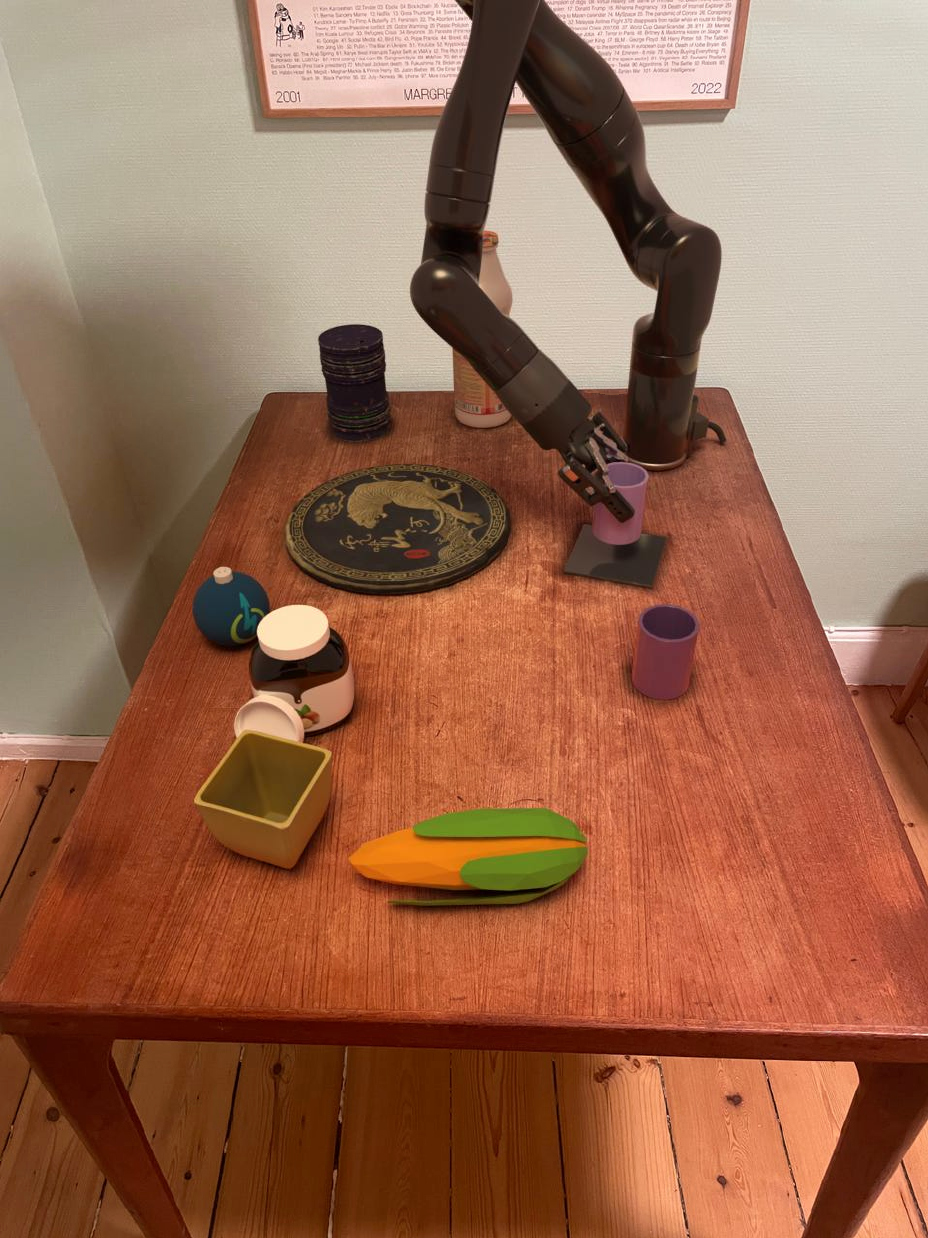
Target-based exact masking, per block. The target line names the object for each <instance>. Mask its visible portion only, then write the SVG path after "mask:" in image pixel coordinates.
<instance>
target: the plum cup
mask: <svg viewBox="0 0 928 1238" xmlns="http://www.w3.org/2000/svg"><path fill="white" fill-rule="evenodd" d="M699 630H700V622H699V619H698V617H697V616H696V615H695V614H694V613H693V612H691V610H689V609H688V608H684V607H682V606H680V605H676V604H670V603H662V604H661V603H660V604H654V605H650V606H648V607H646V608H645V609H643V611H642V612H640V613H639V615H638V619H637V627H636V636H635V644H634V651H633V659H632V666H631V667H632V668H631V682H632V685H633V686H634V688H635V689H636V690H637V691H638V692H639V693H640V694H642V695H644V696H646V697H648V698H651V699H655V700H659V701H660V700H661V701H667V700H668V701H669V700H674V699H677V698H679V697H681V696H682V695H684V694H685V693H686V692H687V691H688V689H689V686H690V681H691V676H692V670H693V664H694V659H695V653H696V647H697V641H698V637H699V632H700V631H699Z"/></svg>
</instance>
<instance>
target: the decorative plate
mask: <svg viewBox="0 0 928 1238" xmlns="http://www.w3.org/2000/svg"><path fill="white" fill-rule="evenodd" d="M289 513H290V514H289V515H288V517H287V521H286V525H285V527H284V540H285V548H286V550H287V552H288V554H289V556H290V558H291V560H292V561H293V562H294V563H295V564H296V565H297V566H298V567H299V568H300V569H301V570H302V571H303V572H305V573H306V574H308V575H309V576H311V577H313V578H314V579H316V580H317V581H320V582H322V583H324V584H327V585H328V586H329V585H330V586H332V587H335V588H339V589H341V590H347V591H350V592H354V593H363V594H372V595H405V594H412V593H419V592H425V591H426V592H427V591H431V590H435V589H439V588H442V587H445V586H449V585H450V586H451V584H455V583H457V582H459V581H461V580H464V579H466V578H468V577H471V576H473V575H474V574H475V573H477V572H480V571H481V570H482V569H484V568H485V567H487V566H488V565H489V564H490V563H491V562H492V561H493V560H495V558H497V557H498V556H499V555H500V553H501V552H502V551H503V549H504V547H505V545H506V544H507V543H508V540H509V536H510V533H511V517H510V510H509V509H508V506H507V504H506V502H505V500H504V498H503V497H502V496H500V493H498V492H497V491H496V490H495V488H493V487H491V486H490V484H488V483H486V482H485V481H484V480H481V479H479V478H478V477H475V476H474V475H471V474H469V473H466V472H462V471H459V470H457V469H454V468H449V467H443V466H437V465H434V464H433V465H431V464H417V463H397V464H396V463H395V464H385V465H378V466H377V465H376V466H371V467H367V468H361V469H356V470H354V471H350V472H347V473H344V474H341V475H338V476H335V477H334V478H331V479H329V480H327V481H325V482H323V483H321V484H319V485H318V486H317V487H314V488H313V489H311V490H310V491H309V492H308V493H306V494H305V495H304V496H303V497H302V498H301V499H300V500H298V502H297V503H296V504H295V506H294V507H293V509H292V511H291V512H289Z"/></svg>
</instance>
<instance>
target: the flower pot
mask: <svg viewBox="0 0 928 1238" xmlns="http://www.w3.org/2000/svg"><path fill="white" fill-rule="evenodd" d="M332 775H333V752H332V751H331V750H329V749H326V748H323V747H320V746H317V745H313V744H309V743H304V742H303V743H301V742H297V741H294V740H289V739H285V738H281V737H277V736H274V735H269V734H266V733H262V732H259V731H253V730H244V731H243V732H242V733H241V734H240V735H239V736H238V738H237V737H236V739H235V740H234V741H233V743H232V744H231V746H230V748H229V749H228V750H227V752H226V753H225V754H224V756H223V757H222V759H221V760H220V762H218V764H217V766H216V767H215V768H214V770H213V771H212V773H210V775H209V777H207V779H206V780H205V782H204V783H203V784H202V786H201V787H200V789H199V790H198V791H197V793H196V794H195V796H194V799H193V803H194V805H195V806H196V809H197V810H198V812H199V813H200V815H201V818H202V819H203V822H205V824H206V826H207V828H208V830H209V832H210V833H211V834H212V836H213V837H214V838H215V839H216V841H218V843H220V844H222V845H223V846H224V847H225V848H227V849H229V850H231V851H233V852H235V853H236V854H239V855H241V856H244V857H246V858H251V859H254V860H257V861H260V862H265V863H267V864H271V865H274V866H277V867H279V868H284V869H288V870H289V869H290V870H291V869H292V868H293V867H295V865H296V864H297V862H298V860H299V859H300V858H301V855H302V853H303V852H304V850H305V848H306V847H307V844H308V843H309V841H310V840H311V837H312V836H313V834H314V833H315V831H316V829H317V828H318V826H319V824H320V823H321V821H322V818H323V817H324V814H326V810H327V808H328V806H329V803H330V798H331V795H332V782H333V781H332V777H333V776H332Z"/></svg>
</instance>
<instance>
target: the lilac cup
mask: <svg viewBox="0 0 928 1238" xmlns="http://www.w3.org/2000/svg"><path fill="white" fill-rule="evenodd" d="M606 465H607V467H608V468H609V473H608V476H609V478H610V480H611V482H612V484H613V485H614V487H615V490H618V492H619V493H620V494H621V495H622V496H623V497H624V498H625V499H626V500H627V502H628V503H629V504H630V505H631V506H632V507H633V508H634V510H635V514H634V516H633V517H632V518H631V519H629V520H627V521H626V522H624V523H620V522H619V521H618V520H617V519H616V518H615V517H614V515H613V514H612V513H611V512H610V511H609V510H608V509H607V508H606V507H605V505H604V504H603V503H601V502H600V503H597V504H595V505H594V506H593V513H592V514H593V515H592V524H591V525H592V526H593V534H594V535H595V536H596V537H597V538H598V539H599V540H601V541H603V542H606V543H609V544H615V545H624V544H629V543H632V542H635V541H636V540H638V539H639V538H640V536H641V533H642V532H643V529H644V528H643V527H644V518H645V510H646V502H647V495H648V488H649V480H650V475H649V473H648V470H645V469H643V468H642V467H641V466H638V465H635V464H632V463H626V462H613V463H609V464H606ZM598 481H599V482H600V483H601V484H602V485H603V483H602V481H601V479H599V480H598ZM603 486H604V485H603Z"/></svg>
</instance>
